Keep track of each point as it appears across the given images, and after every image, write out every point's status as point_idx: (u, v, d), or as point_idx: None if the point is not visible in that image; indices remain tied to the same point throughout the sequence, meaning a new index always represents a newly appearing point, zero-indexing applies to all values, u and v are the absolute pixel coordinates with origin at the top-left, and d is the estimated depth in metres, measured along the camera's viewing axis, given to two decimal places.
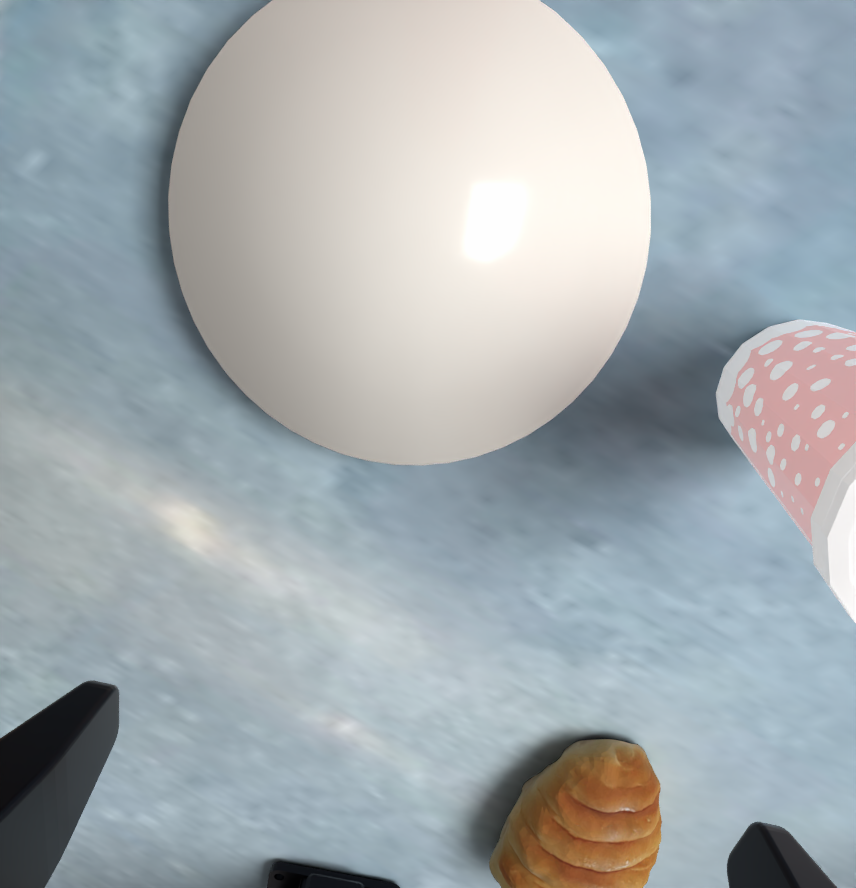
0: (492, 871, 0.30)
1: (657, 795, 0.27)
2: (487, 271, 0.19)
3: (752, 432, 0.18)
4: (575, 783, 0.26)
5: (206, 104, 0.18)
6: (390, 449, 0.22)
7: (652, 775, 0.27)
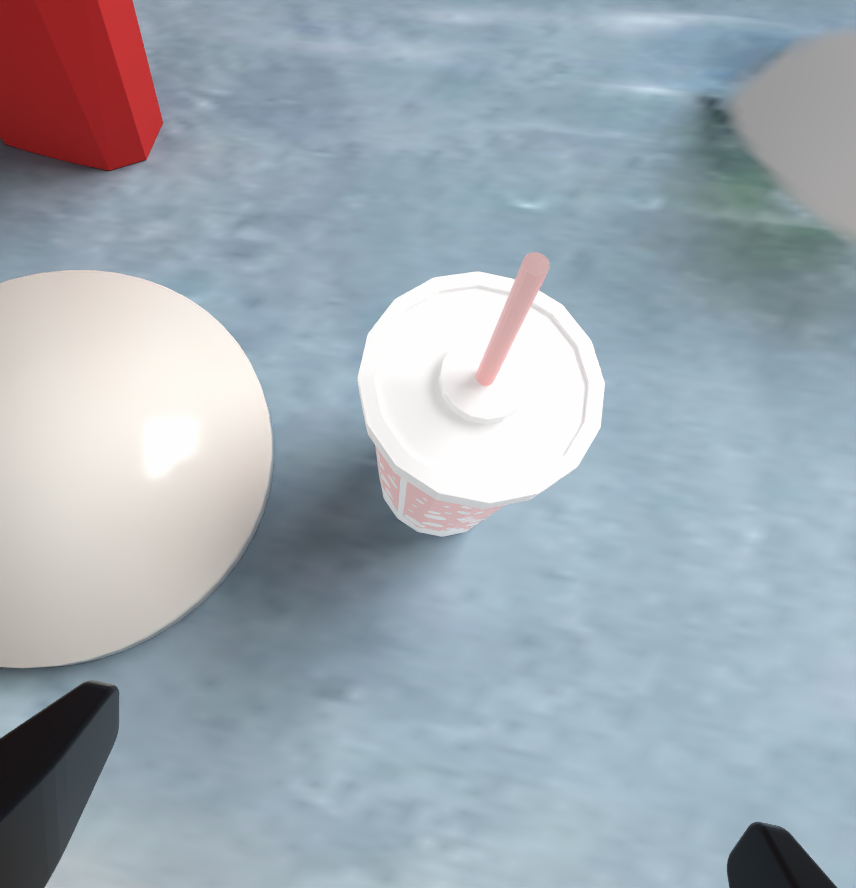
0: None
1: None
2: (136, 447, 0.22)
3: (380, 472, 0.21)
4: None
5: None
6: (77, 643, 0.20)
7: None
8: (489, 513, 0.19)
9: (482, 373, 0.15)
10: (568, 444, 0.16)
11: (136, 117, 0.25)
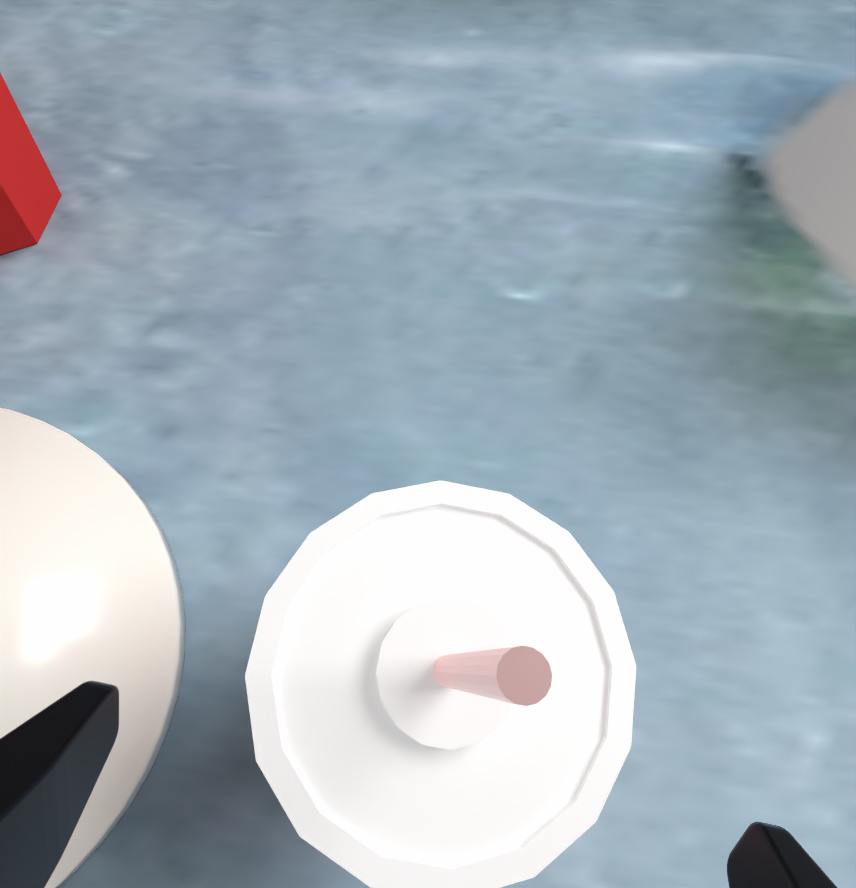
0: None
1: None
2: None
3: None
4: None
5: None
6: None
7: None
8: None
9: (441, 682, 0.09)
10: (581, 778, 0.10)
11: (14, 197, 0.20)
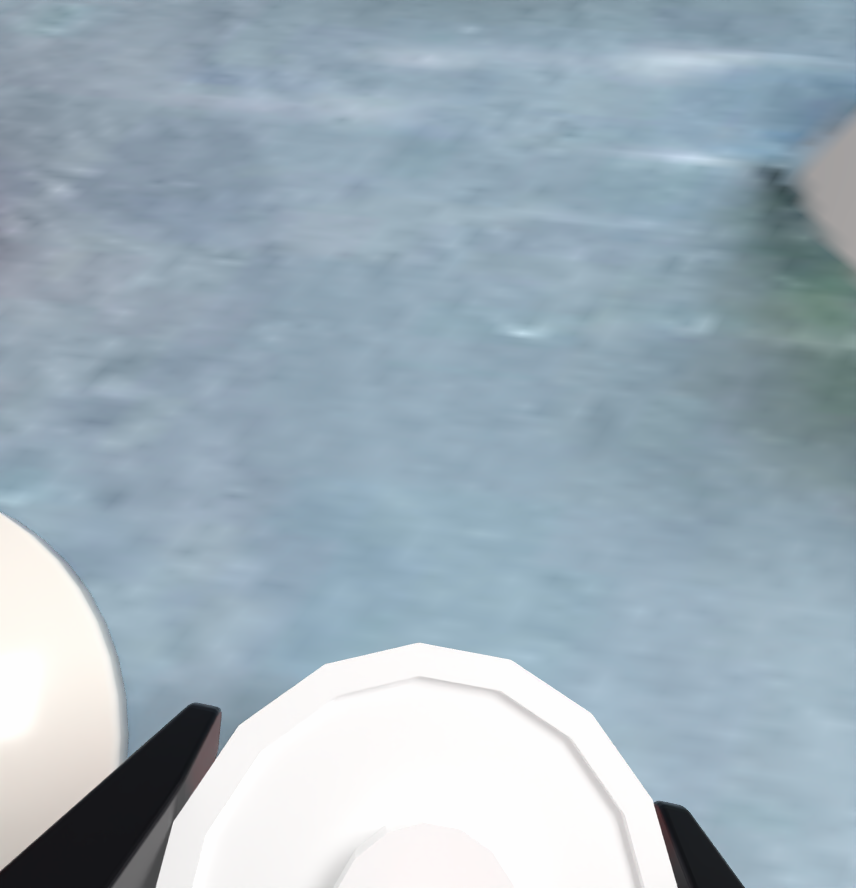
0: None
1: None
2: None
3: None
4: None
5: None
6: None
7: None
8: None
9: None
10: None
11: None
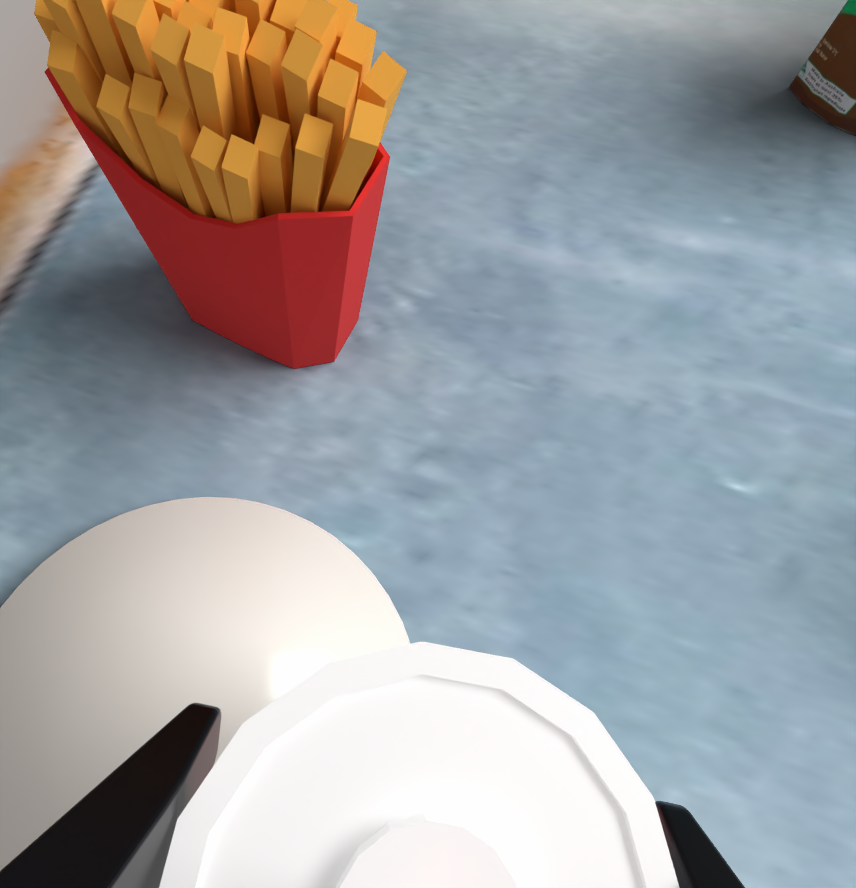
0: None
1: None
2: None
3: None
4: None
5: (11, 614, 0.20)
6: None
7: None
8: None
9: None
10: None
11: (339, 334, 0.23)
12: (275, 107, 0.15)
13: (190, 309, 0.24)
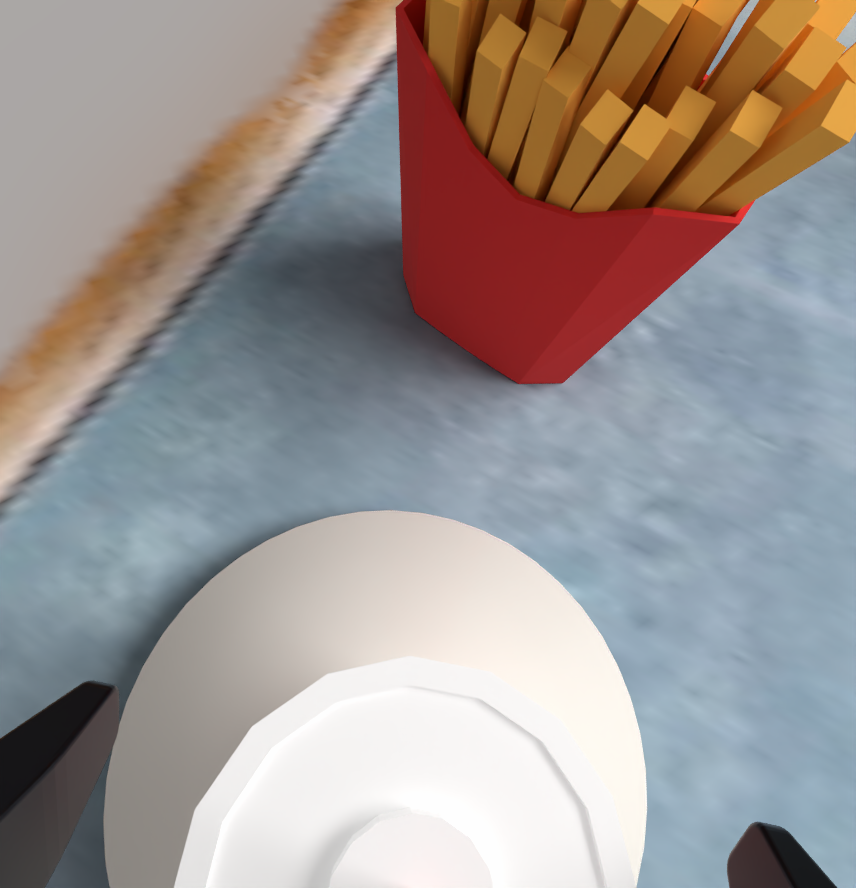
0: None
1: None
2: None
3: None
4: None
5: (200, 610, 0.18)
6: None
7: None
8: None
9: None
10: None
11: (591, 355, 0.20)
12: (690, 80, 0.12)
13: (421, 300, 0.22)
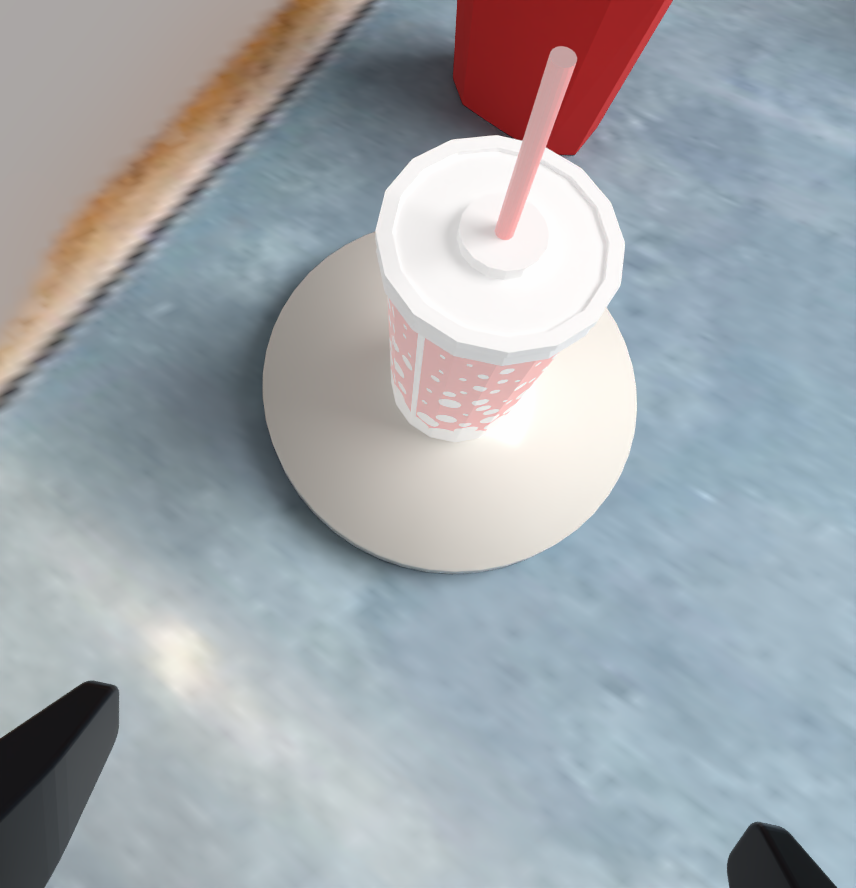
0: None
1: None
2: (517, 402, 0.24)
3: (394, 362, 0.20)
4: None
5: (320, 276, 0.25)
6: (428, 551, 0.22)
7: None
8: (504, 397, 0.19)
9: (502, 222, 0.15)
10: (588, 300, 0.16)
11: (596, 118, 0.28)
12: None
13: (469, 87, 0.29)
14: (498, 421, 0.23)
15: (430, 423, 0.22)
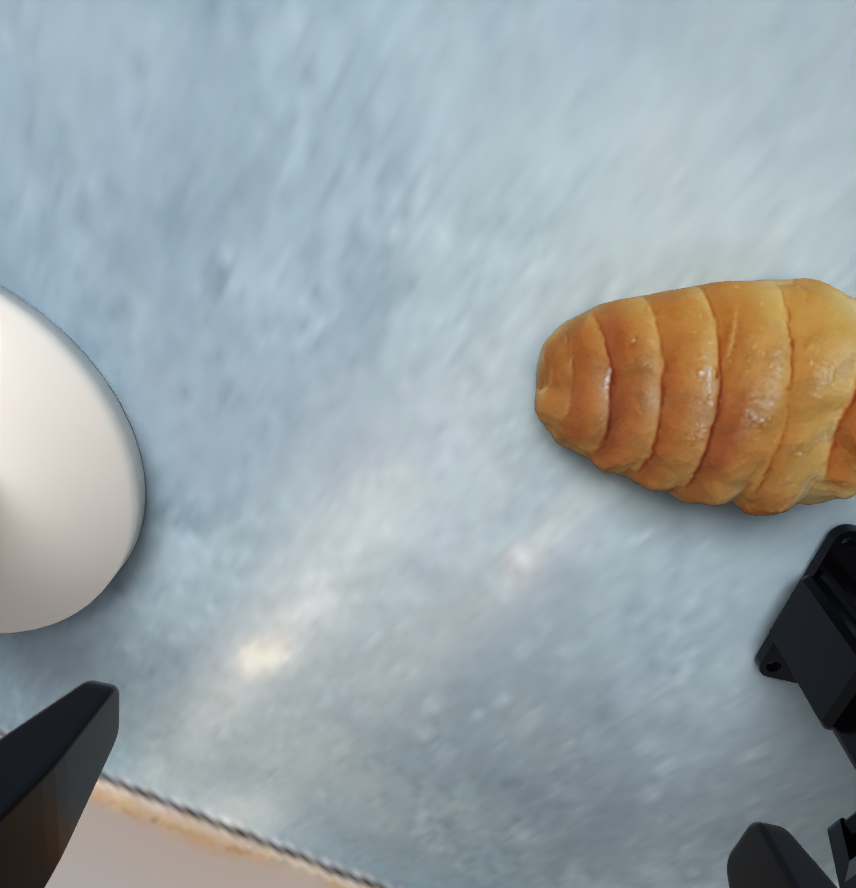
0: None
1: (600, 324, 0.18)
2: None
3: None
4: (576, 446, 0.19)
5: None
6: (112, 495, 0.22)
7: (570, 332, 0.18)
8: None
9: None
10: None
11: None
12: None
13: None
14: None
15: None
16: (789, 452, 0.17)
